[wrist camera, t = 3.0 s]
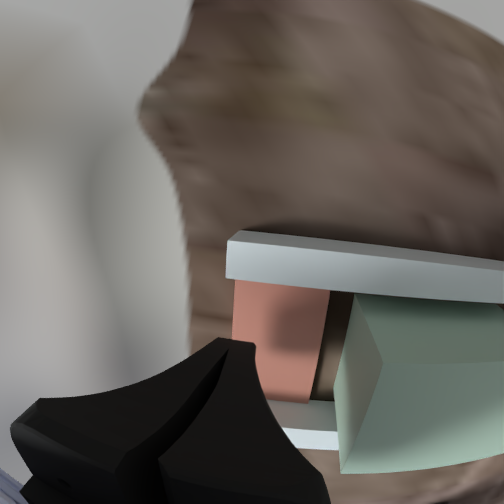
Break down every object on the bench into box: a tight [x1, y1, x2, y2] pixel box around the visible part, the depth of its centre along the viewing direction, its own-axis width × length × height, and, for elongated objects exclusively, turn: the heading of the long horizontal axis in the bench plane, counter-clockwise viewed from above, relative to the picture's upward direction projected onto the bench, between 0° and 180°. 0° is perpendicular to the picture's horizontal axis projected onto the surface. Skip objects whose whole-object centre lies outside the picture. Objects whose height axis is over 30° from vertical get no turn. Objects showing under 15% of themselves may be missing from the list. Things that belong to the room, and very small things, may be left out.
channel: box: [226, 230, 504, 450], centre depth 11 cm, size 8×14×2 cm, turn 86°
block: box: [333, 293, 504, 474], centre depth 9 cm, size 4×7×5 cm, turn 86°
